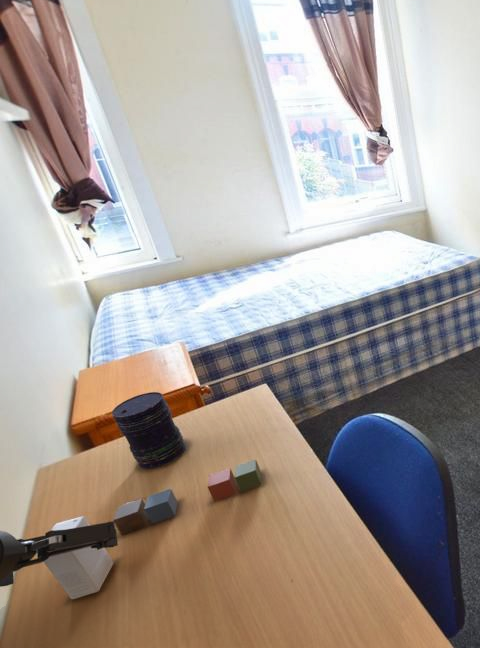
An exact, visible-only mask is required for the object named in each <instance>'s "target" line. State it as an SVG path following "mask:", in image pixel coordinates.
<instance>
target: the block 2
mask: <svg viewBox="0 0 480 648" xmlns="http://www.w3.org/2000/svg"><path fill="white" fill-rule="evenodd" d="M178 505H179V503H178V500H177V498H176V496H175V494H174V492H173V490H172V488H168V489H164V490H162V491H159V492H157V493H154V494H151V495H148V496H147V499H146V502H145V508H144V511H145V512H146V514H147V516H148V520H149V521H150V524H151V525H154V524H156V523H159V522H162V521H165V520H168V519H170V518H172V517H175V516H176V513H177V509H178Z"/></svg>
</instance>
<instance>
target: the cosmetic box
mask: <svg viewBox="0 0 480 648" xmlns="http://www.w3.org/2000/svg"><path fill="white" fill-rule="evenodd" d="M87 520H88V519H86V518H85V516H84V515H82V516H79V517H75V518H72V519H68V520H63V521H60V522H57V523H55V524H54V526H53V527H52V528H51V530H66V529H72V528H78V527H83V526H89V525H90V523H89V522H88V521H87ZM42 563H44V565H45V566H46V567H47V569H48V570H49V571H50V573H51V574H52V575H53V577H54V579H56V581H57V582H58V583H59V585H60V587H61V588H62V589H63V590H64V592H65V593H66V595H67V596H68V597H69V598H70V599H71V600H75V599H79V598H83V597H85V596H89V595H92V594H95V593H98V592H99V591H100V590H101V588H102V586H103V584H104V582H105V580H106V579H107V577H108V575H109V573H110V571H111V569H112V567H113V565H114V560H113V559H112V558H111V556H110V554H109V552H108V551H107V550H106V548H102V549H99V550H97V548H91V547H87V548H83V549H79V550H75V551H71V552H67V553H63V554H59V555H55V556H51V557H49V558H48V559H47V560H45V561H43V562H42Z"/></svg>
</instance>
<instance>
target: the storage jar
mask: <svg viewBox="0 0 480 648" xmlns="http://www.w3.org/2000/svg"><path fill="white" fill-rule="evenodd" d="M111 415H112V417H113V418H114V421H115V423H116V426H117V428H118V429H119V432H120V434H121V435H122V436H124V437H125V439H126V442H127V443H128V445H129V451H130V453H131V454H132V456H133V459H134V460H136V462H137V464H138V466H139V468H140V469H143V470H153V469H159V468H160V467H163V466H166V465H168V464H171V463H172V462H173V461H175V460H177V459H179V457H181V456H182V454H184V453H185V451H186V450H187V449H186V448H187V444H186V442H185V441H184V437H183V434H182V432H181V431H180V428H179V427H178V426H177V425H176V424H175V422H174V420H173V417H172V411H171V409H170V407H169V405H168V403H167V402H166V399H165V398H164V395H163V393H161V392H158V391H151V392H145V393H142V394H138V395H135V396H132V397H130V398H128V399H126V400H124V401H122V402H121V403H119V404H118V405H117V406H115V407H114V408H113V409H112V411H111Z"/></svg>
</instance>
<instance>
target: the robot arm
mask: <svg viewBox="0 0 480 648" xmlns="http://www.w3.org/2000/svg"><path fill="white" fill-rule="evenodd" d="M118 545H119V543H118V533H117V528H116V525H115V523H114V521H113V520H112V521H111V520H110V521H107V522H102V523H97V524H89V526H83V527H78V528H72V529H66V530H52V529H51V530H49V531H47V532H45V533H44V535H40V536H36V537H32V538H27V539H23V538H18V539H17V538H16V537H14V535H12V534H11V533H9V532H7V531H4V530H0V588H1V587H2V588H3V587H9V586H10V585H13V584H14V583H15V581H14V573H15V572H18V571H20V570H21V569H23V568H26V567H30V566H34V565H39V564H41V563H44V562H43V561H45V560H47V559H48V558H49V557H51V556H55V555H59V554H63V553H67V552H71V551H75V550H79V549H83V548H87V547H91V548H97V550H99V549H102V548H105V549H107V548H108V549H109V548H114V547H118ZM35 556H37V558H34V557H35Z"/></svg>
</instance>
